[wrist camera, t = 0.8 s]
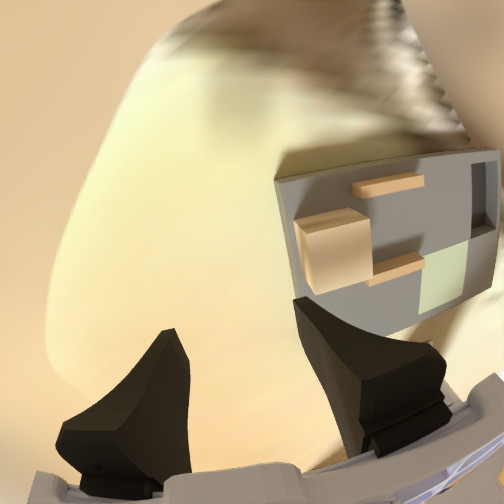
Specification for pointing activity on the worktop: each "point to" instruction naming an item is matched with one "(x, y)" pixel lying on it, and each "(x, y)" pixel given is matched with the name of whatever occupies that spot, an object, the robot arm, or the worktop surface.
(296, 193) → the board
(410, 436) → the robot arm
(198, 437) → the worktop surface
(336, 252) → the birch block
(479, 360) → the worktop surface
